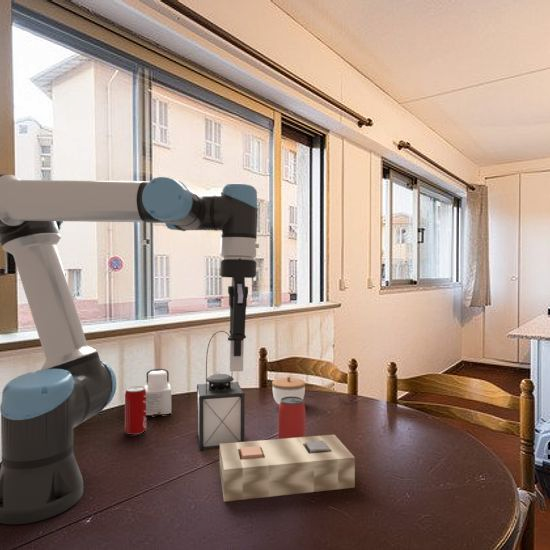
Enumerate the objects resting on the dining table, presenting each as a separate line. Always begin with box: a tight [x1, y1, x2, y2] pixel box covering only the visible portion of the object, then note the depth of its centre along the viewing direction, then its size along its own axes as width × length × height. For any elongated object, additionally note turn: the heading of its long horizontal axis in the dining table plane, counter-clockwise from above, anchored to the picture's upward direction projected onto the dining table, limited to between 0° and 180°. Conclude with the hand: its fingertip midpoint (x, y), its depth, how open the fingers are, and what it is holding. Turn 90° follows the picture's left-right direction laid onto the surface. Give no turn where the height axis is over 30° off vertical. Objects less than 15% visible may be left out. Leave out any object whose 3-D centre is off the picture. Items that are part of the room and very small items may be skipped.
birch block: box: [219, 434, 356, 502], centre depth 86 cm, size 26×12×6 cm, turn 101°
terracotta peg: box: [240, 446, 263, 460], centre depth 84 cm, size 4×4×6 cm
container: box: [144, 368, 172, 415], centre depth 127 cm, size 8×8×13 cm
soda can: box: [124, 385, 147, 435], centre depth 111 cm, size 6×6×12 cm
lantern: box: [196, 330, 245, 452], centre depth 106 cm, size 11×11×28 cm
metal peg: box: [305, 441, 329, 454], centre depth 87 cm, size 4×4×6 cm
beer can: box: [278, 396, 306, 439], centre depth 101 cm, size 7×7×12 cm
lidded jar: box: [271, 376, 306, 405], centre depth 134 cm, size 11×11×9 cm
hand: (236, 370), depth 87 cm, fingers closed
